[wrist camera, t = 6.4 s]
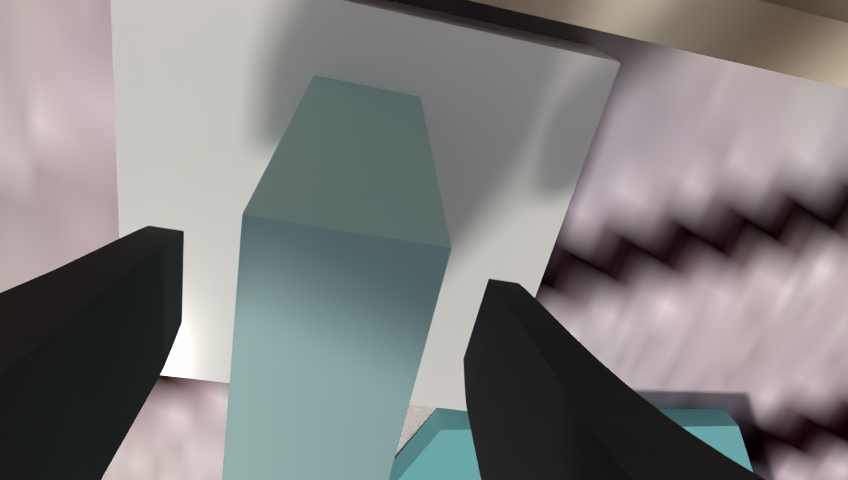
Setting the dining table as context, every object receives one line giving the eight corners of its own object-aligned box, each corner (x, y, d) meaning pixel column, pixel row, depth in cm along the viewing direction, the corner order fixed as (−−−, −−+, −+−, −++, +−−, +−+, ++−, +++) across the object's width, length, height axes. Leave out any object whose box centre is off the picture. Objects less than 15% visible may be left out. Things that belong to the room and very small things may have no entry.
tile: (589, 45, 13) (621, 62, 12) (481, 367, 18) (492, 414, 16) (150, -54, 12) (108, -53, 10) (152, 324, 16) (124, 370, 15)
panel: (420, 96, 12) (451, 248, 6) (364, 356, 15) (351, 616, 9) (313, 75, 11) (242, 214, 6) (280, 345, 15) (212, 607, 9)
